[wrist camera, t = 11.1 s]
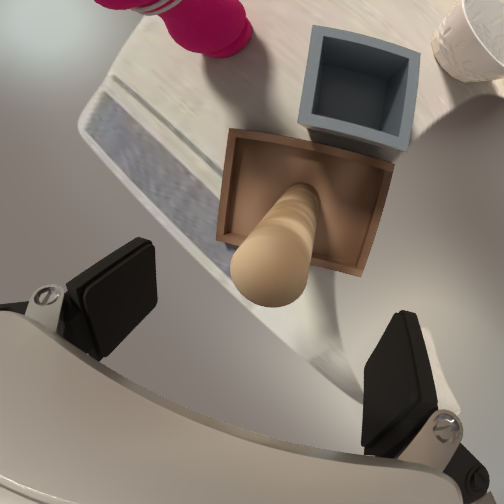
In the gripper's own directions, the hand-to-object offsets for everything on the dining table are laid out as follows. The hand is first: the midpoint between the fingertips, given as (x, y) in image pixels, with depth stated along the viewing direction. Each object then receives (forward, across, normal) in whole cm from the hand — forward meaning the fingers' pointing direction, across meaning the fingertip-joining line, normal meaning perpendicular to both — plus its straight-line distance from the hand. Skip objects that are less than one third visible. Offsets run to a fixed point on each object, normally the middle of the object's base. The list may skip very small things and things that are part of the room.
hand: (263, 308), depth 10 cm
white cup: (+20, -13, -20) cm, 32 cm away
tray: (+20, +1, +1) cm, 20 cm away
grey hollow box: (+20, -2, -10) cm, 22 cm away
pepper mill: (+20, +12, -16) cm, 28 cm away
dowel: (+19, +1, +1) cm, 19 cm away
